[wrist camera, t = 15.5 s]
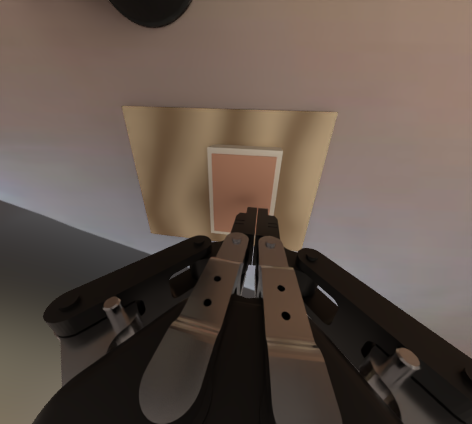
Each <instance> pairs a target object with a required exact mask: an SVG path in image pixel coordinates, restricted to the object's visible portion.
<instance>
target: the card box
mask: <svg viewBox="0 0 472 424" xmlns="http://www.w3.org/2000/svg"><path fill="white" fill-rule="evenodd" d="M282 155H283V150H282V149H281V147H261V146H240V145H219V144H214V145H211V146H209V147H207V156H208V178H209V200H210V221H211V233H217V234H226V235H228V234H230V233H231V230H232V227H233V224H234V221H235V218H236V215H238V214H239V213H246V212H247V208H248V207H254V208H257V215H258V208H265V209H268V215H271V216H274V209H275V202H276V195H277V189H278V182H279V175H280V168H281V161H282ZM256 224H257V216H256ZM255 234H256V227H255ZM254 238H255V237H254Z"/></svg>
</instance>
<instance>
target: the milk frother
mask: <svg viewBox="0 0 472 424" xmlns="http://www.w3.org/2000/svg"><path fill="white" fill-rule="evenodd" d="M109 1H110V2H111V3H112V4H113V6H114V7H115V8H116V9H117V10H118V11H119V12H120V13H121V14H122V15H124V16H125V17H127V18H128V19H129V20H131V21H133V22H134V23H137V24H139V25H142V26H146V27H161V26H164V25H168V24H169V23H171V22H173V21H174V20H176V19H177V18H178V17H179V16H180V15H181V14H182V13H183V12H184V11H185V10H186V9H187V7H188V5H189V3H190V2H191V0H109Z"/></svg>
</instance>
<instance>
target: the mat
mask: <svg viewBox="0 0 472 424" xmlns="http://www.w3.org/2000/svg"><path fill="white" fill-rule="evenodd" d="M122 110H123V114H124V119H125V123H126V127H127V132H128V136H129V140H130V144H131V149H132V153H133V157H134V162H135V166H136V170H137V174H138V179H139V183H140V187H141V192H142V196H143V200H144V205H145V209H146V213H147V217H148V222H149V226H150V230H151V233H153V234H161V235H170V236H178V237H186V238H191V237H194V236H198V235H204V236H207V237H209V238H210V239H211V241H219V242H220V241H223V240H224V239H225V237H226V236H227V235H226V234H217V233H211V221H210V200H209V178H208V156H207V147H209V146H211V145H214V144H219V145H240V146H261V147H281V149H282V150H283V155H282V161H281V168H280V175H279V182H278V189H277V195H276V202H275V209H274V216H275V217H276V218H277V219H278V225H279V234H280V240H281V241H282V243H283V246H284V247H285V248H287V249H289V250H292V251H299V250H300V249H302V245H303V241H304V238H305V234H306V230H307V226H308V223H309V219H310V215H311V211H312V207H313V204H314V200H315V196H316V192H317V189H318V185H319V181H320V177H321V174H322V170H323V166H324V162H325V159H326V155H327V151H328V147H329V144H330V140H331V136H332V132H333V128H334V125H335V121H336V117H337V113H338V112H309V111H274V110H240V109H206V108H172V107H138V106H122ZM254 244H255V238H254Z"/></svg>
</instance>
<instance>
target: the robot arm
mask: <svg viewBox="0 0 472 424" xmlns="http://www.w3.org/2000/svg"><path fill="white" fill-rule="evenodd" d="M256 216H257V224H256ZM255 227H256V234H255ZM254 237H255V244H254ZM253 246H254V255H253ZM252 255H253V265H256V267H255V298H244V297H242V296H241V294H242V290H243V286H244V282H245V277H246V271H247V269H248V265H251V264H252ZM189 265H190V269H188V270H187V271H185V272H183V273H181V274H179V275H177V276H176V277H174V278H172V279H170V277H171V276H172V275H173V274H174V273H176V272H178V271H180V270H182V269H184V268H185V267H187V266H189ZM169 279H170V280H169ZM318 285H319V286H320V287H321V288H322V289H323V290H324V291H326V292H327V293H328V294H329V295H330V296H331V297H332V298H333V299H334V300H335V301H336V303H337V305H338V306H337V305H336V304H335V303H333V302H332V301H331V300H330V299H329V298H328V297H327V296H326V295H325V294H323V293H322V292H321V291H320V290H319V289H318V288H317V286H318ZM307 315H308V316H309V317H310V318H311V319H310V318H309V317H308V316H307ZM43 318H44V320H45V321H46V323H47V324H48V325H49V326H50V327H51V329H52V330H53V331H54V335H55V336H56V337H57V338H58V339H59V341H60V342H61V370H62V371H61V372H62V388H61V389H60V390H59V391H58V392H57V393H56V394H55V395H54V396H53V397H52V398H51V400H50V401H49V402H48V403H47V404H46V405H45V406H44V408H43V409H42V410H41V412H40V413H39V414H38V416H37V417H36V419H35V420H34V422H33V423H32V424H472V359H471V358H470V357H468V356H467V355H465V354H464V353H463V352H461V351H460V350H458V349H457V348H455V347H454V346H453V345H451V344H450V343H448V342H447V341H445V340H444V339H443V338H441V337H440V336H438V335H437V334H436V333H434V332H433V331H431V330H430V329H428V328H427V327H426V326H424V325H423V324H421V323H420V322H418V321H417V320H416V319H414V318H413V317H411V316H410V315H408V314H407V313H406V312H404V311H403V310H401V309H400V308H398V307H397V306H396V305H394V304H393V303H391V302H390V301H388V300H387V299H386V298H384V297H383V296H381V295H380V294H378V293H377V292H376V291H374V290H373V289H371V288H370V287H368V286H367V285H366V284H364V283H363V282H361V281H360V280H358V279H357V278H356V277H354V276H353V275H351V274H350V273H348V272H347V271H346V270H344V269H343V268H341V267H340V266H338V265H337V264H336V263H334V262H333V261H331V260H330V259H329V258H327V257H326V256H324V255H323V254H321V253H320V252H318V251H316V250H314V249H310V248H303V249H300V250H299V251H298V253H297V252H294V251H291V250H289V249H287V248H285V247H284V246H283V243H282V241H281V240H280V234H279V225H278V219H277V218H276V217H275V216H271V215H268V209H265V208H258V215H257V208H254V207H248V208H247V212H246V213H239V214H238V215H236V218H235V221H234V224H233V227H232V230H231V233H230V234H228V235H227V236H226V237H225V239H224V240H223V241H220V242H211V239H210V238H209V237H207V236H204V235H198V236H194V237H191V238H189V239H187V240H184V241H182V242H180V243H178V244H175V245H173V246H171V247H168V248H166V249H164V250H162V251H159V252H157V253H155V254H153V255H150V256H148V257H146V258H144V259H141V260H140V261H137V262H135V263H132V264H130V265H127V266H126V267H123V268H121V269H118V270H116V271H114V272H112V273H109V274H107V275H105V276H102V277H100V278H98V279H96V280H93V281H91V282H89V283H87V284H84V285H82V286H80V287H77V288H75V289H73V290H71V291H68V292H66V293H64V294H63V295H61V296H59V297H58V298H56V299H55V300H54V301H53V302H52V303H51V304H50V305H49V306H48V307H47V308H46V310H45V312H44V315H43ZM336 346H337V347H338V348H339V349H338V348H337V347H336ZM343 354H344V355H345V356H346V357H347V358H348V359H349V360H350V361H349V360H348V359H347V358H346V357H345V356H344V355H343ZM350 362H352V364H353V365H354V366H355V367H356V368H357V369H358V370H359V372H358V371H357V369H356V368H355V367H354V366H353V365H352V364H351V363H350Z"/></svg>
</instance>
